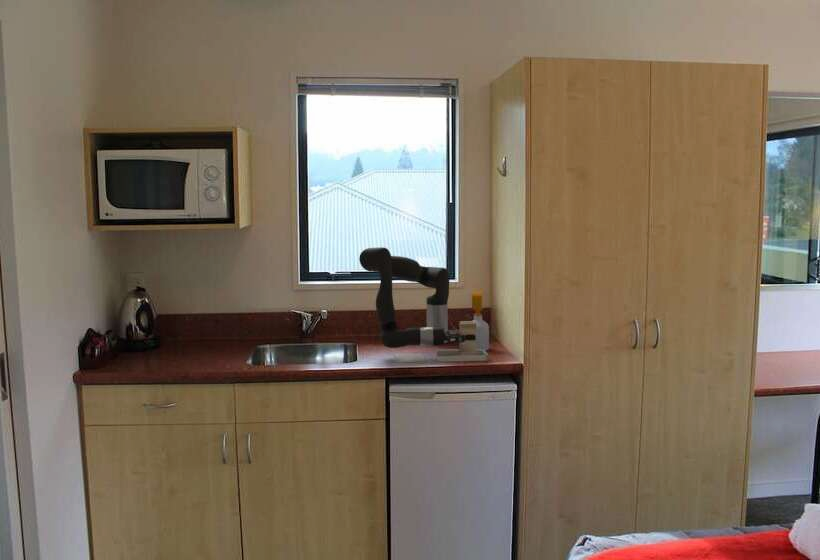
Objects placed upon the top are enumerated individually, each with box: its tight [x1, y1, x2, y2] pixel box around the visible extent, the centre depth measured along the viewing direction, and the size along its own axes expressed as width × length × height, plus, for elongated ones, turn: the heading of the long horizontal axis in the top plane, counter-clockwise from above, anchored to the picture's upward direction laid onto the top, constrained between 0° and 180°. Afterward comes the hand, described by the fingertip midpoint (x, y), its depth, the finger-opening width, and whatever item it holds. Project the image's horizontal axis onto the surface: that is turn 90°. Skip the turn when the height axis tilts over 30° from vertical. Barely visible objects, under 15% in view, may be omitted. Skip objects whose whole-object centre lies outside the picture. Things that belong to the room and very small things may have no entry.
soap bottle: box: [471, 290, 490, 352], centre depth 268 cm, size 9×9×25 cm
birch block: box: [458, 320, 476, 355], centre depth 254 cm, size 5×6×13 cm
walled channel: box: [436, 348, 490, 362], centre depth 255 cm, size 11×20×2 cm, turn 92°
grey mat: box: [394, 353, 427, 363], centre depth 254 cm, size 12×12×1 cm
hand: (474, 335), depth 254 cm, fingers closed on birch block, 5 cm apart
